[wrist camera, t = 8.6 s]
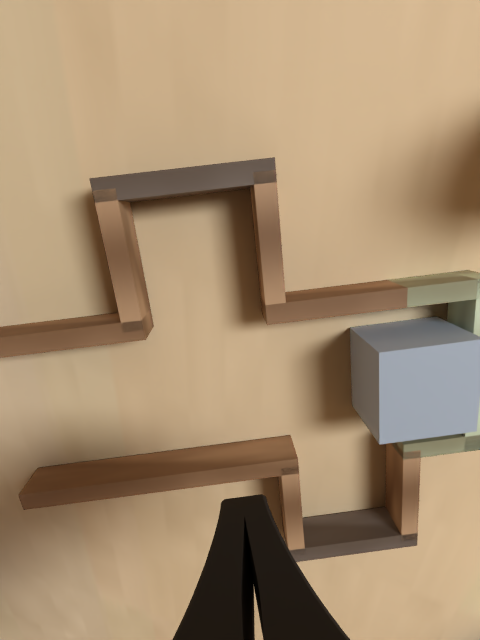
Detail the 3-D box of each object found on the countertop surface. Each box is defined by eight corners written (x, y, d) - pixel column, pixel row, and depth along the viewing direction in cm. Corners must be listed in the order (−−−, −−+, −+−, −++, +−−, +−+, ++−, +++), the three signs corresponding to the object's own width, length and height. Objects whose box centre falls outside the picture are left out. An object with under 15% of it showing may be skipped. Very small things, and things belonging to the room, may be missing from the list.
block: (431, 393, 22) (476, 431, 18) (351, 404, 22) (379, 444, 18) (434, 315, 20) (484, 338, 17) (349, 326, 20) (379, 352, 16)
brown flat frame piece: (450, 509, 24) (472, 537, 22) (68, 561, 24) (54, 594, 22) (477, 140, 18) (512, 130, 16) (-50, 200, 17) (-88, 198, 15)
